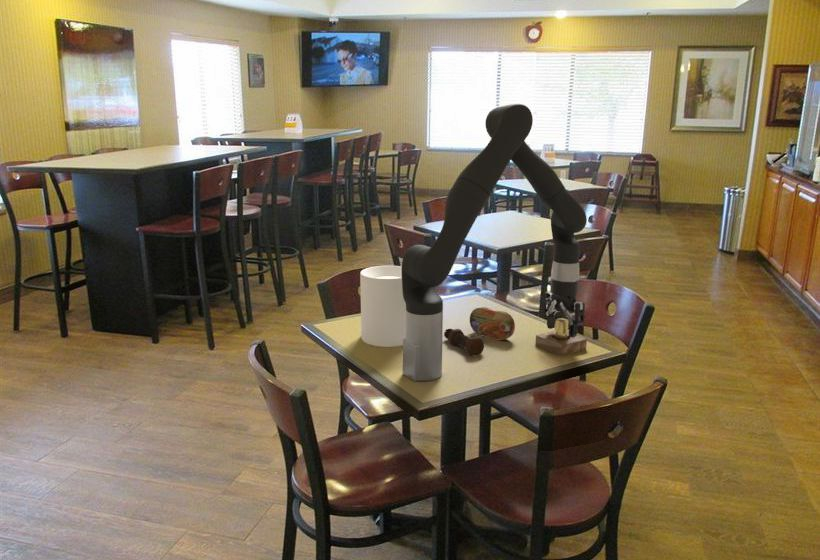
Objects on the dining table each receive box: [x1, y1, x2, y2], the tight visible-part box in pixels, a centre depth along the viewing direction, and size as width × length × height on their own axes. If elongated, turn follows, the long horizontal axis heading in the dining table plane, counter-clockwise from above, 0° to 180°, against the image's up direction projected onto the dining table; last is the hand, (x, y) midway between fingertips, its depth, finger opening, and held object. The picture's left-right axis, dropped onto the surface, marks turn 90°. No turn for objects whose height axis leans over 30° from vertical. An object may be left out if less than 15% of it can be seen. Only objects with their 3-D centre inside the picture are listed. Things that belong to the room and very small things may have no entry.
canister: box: [359, 265, 406, 348], centre depth 193 cm, size 16×16×20 cm
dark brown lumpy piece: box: [443, 328, 485, 357], centre depth 187 cm, size 6×5×15 cm
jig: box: [535, 330, 588, 357], centre depth 187 cm, size 10×10×3 cm
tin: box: [469, 306, 516, 341], centre depth 195 cm, size 15×3×8 cm, turn 47°
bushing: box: [554, 317, 570, 340], centre depth 187 cm, size 4×4×8 cm
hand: (561, 332), depth 186 cm, fingers open, 8 cm apart
